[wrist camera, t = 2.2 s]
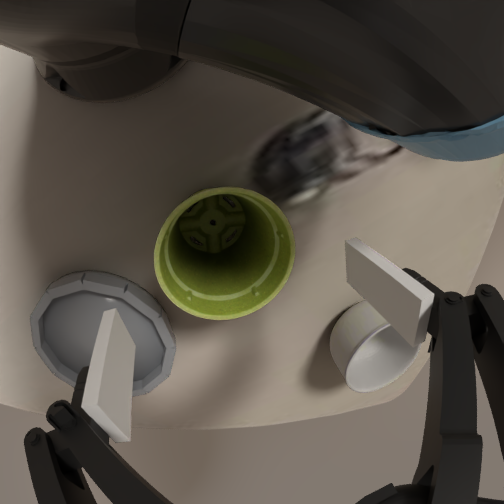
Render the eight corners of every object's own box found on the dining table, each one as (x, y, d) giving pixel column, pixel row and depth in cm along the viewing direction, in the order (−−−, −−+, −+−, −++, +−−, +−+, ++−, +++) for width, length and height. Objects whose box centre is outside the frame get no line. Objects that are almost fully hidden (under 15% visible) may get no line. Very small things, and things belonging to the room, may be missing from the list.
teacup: (327, 365, 39) (353, 406, 32) (309, 313, 34) (340, 357, 27) (407, 318, 40) (439, 349, 33) (403, 260, 35) (444, 291, 28)
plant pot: (139, 232, 26) (126, 278, 18) (202, 147, 24) (215, 156, 17) (219, 283, 30) (237, 338, 22) (281, 209, 28) (321, 243, 21)
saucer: (14, 292, 24) (6, 303, 22) (141, 251, 27) (139, 261, 25) (81, 392, 31) (78, 405, 29) (192, 369, 34) (194, 383, 32)
